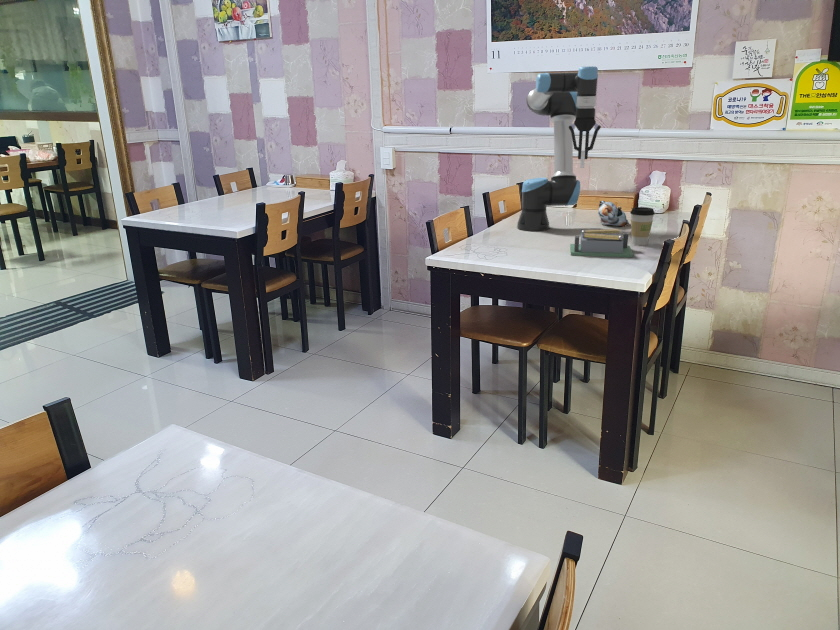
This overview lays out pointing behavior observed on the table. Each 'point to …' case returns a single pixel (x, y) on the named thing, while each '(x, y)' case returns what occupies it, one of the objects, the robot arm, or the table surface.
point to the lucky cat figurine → (611, 214)
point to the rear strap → (601, 231)
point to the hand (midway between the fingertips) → (582, 167)
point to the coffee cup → (641, 224)
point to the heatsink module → (601, 246)
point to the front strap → (604, 236)
